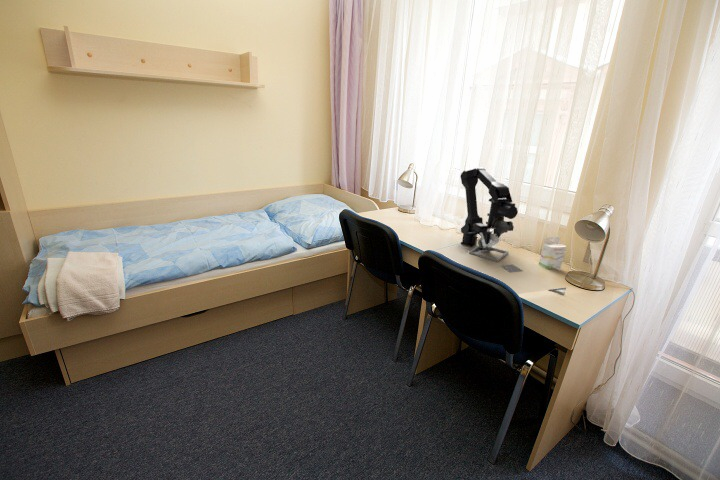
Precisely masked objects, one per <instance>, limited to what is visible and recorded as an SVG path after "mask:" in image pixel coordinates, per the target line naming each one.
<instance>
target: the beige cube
mask: <svg viewBox="0 0 720 480" xmlns="http://www.w3.org/2000/svg"><path fill="white" fill-rule="evenodd" d="M490 232H492V233H491V234H493V233H494V229H492V230H490ZM479 235H480V236H481V238H480V240H483V239H484V237H483V234H482V233H480V234H479ZM480 240H479V241H480Z"/></svg>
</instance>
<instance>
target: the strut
mask: <svg viewBox="0 0 720 480" xmlns="http://www.w3.org/2000/svg"><path fill="white" fill-rule="evenodd" d="M499 242H500V237H499V238H498V235H497V234H493V233H492V234H490V236H489V241H488V244H485V240H484V239H483V240H477V244H478V245H477V246H479V248H480V251H484V250H490V249H491V247H494V246H495V245H496V244H498V243H499ZM484 252H485V251H484Z"/></svg>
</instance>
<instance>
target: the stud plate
mask: <svg viewBox="0 0 720 480" xmlns="http://www.w3.org/2000/svg"><path fill="white" fill-rule="evenodd" d="M500 268H502V269H503V270H506V271H507V272H508V273H517V272H518V273H519V272H524V270H523V269H521V268H520V267H517V266H516V265H514V264H504V265H500Z"/></svg>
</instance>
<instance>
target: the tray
mask: <svg viewBox="0 0 720 480" xmlns="http://www.w3.org/2000/svg"><path fill="white" fill-rule="evenodd" d="M493 251H496V252H499V253H503V254H501V255H500V256H499V257H498V258H496V257H495V258H494V257H493V256H492V257H491V256H488V255H485V254H481V252H483V253H484V252H493ZM468 254H470V255H473V256H477V257H481V258H484V259H487V260H490V261H494V262H497V263H498V262H500V261H501V260H502V259H503V258H505V256H507V255H508V254H509V251H508V250H503V249H500V248H496V247H494V246H492V247H491V249H490V250H484V251H480V248H479V245H476V246H474V248H472V249H471V250H470V251H469V252H468Z"/></svg>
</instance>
